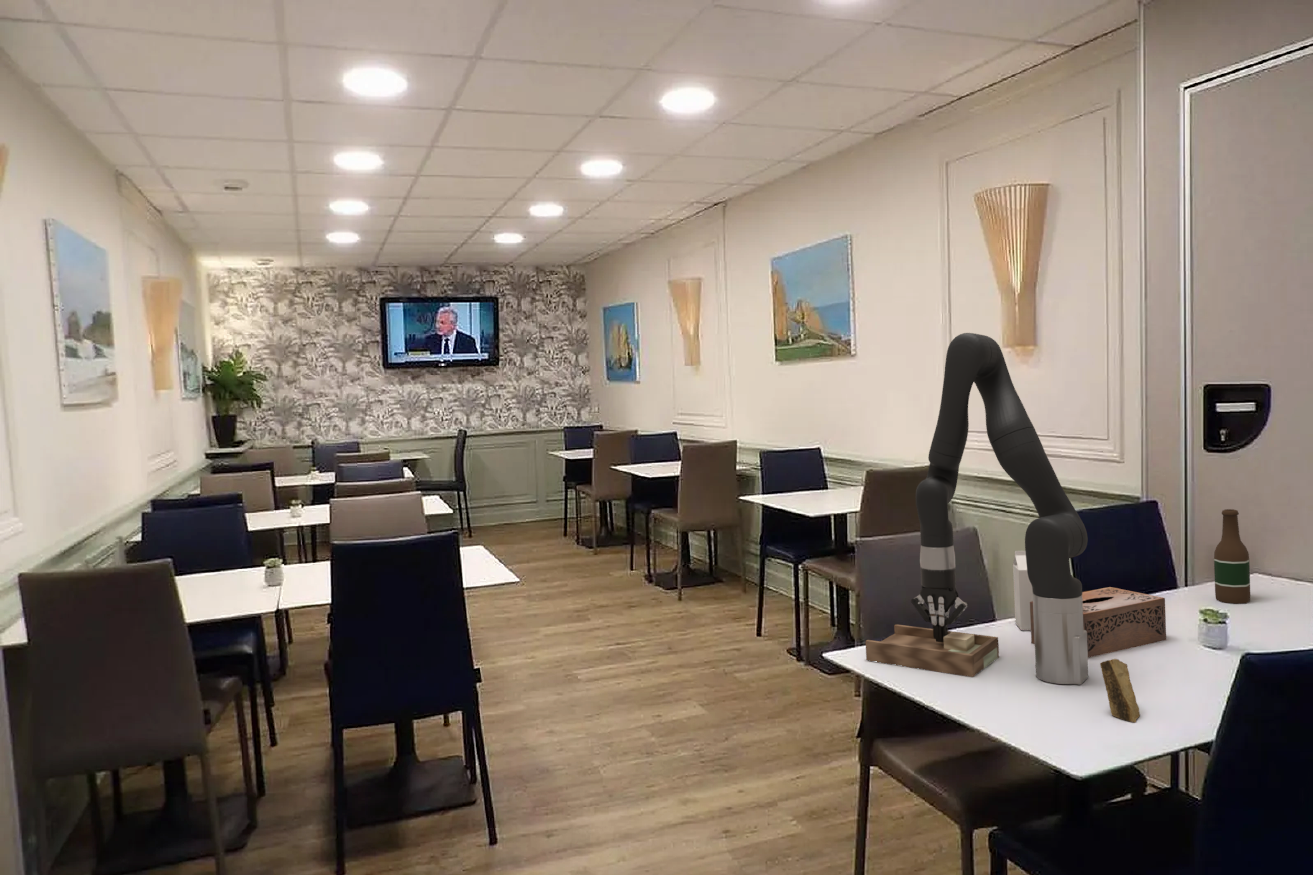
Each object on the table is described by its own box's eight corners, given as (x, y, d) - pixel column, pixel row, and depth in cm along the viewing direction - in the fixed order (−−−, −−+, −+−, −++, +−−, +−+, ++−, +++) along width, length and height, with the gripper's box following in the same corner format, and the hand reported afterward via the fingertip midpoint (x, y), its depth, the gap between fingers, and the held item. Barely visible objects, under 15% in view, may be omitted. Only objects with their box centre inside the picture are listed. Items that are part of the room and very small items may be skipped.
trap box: (998, 657, 196) (998, 637, 196) (972, 677, 184) (971, 655, 183) (896, 643, 211) (896, 624, 211) (866, 660, 199) (865, 640, 199)
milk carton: (1052, 631, 214) (1049, 553, 213) (1020, 631, 215) (1017, 553, 214) (1045, 623, 221) (1042, 547, 220) (1015, 623, 222) (1012, 548, 221)
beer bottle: (1208, 599, 234) (1205, 509, 233) (1230, 596, 237) (1227, 507, 236) (1235, 605, 227) (1232, 512, 226) (1258, 602, 229) (1255, 510, 228)
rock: (1111, 683, 169) (1077, 686, 164) (1139, 653, 164) (1104, 655, 160) (1153, 731, 161) (1118, 736, 156) (1183, 701, 157) (1148, 705, 152)
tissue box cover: (1083, 660, 191) (1081, 614, 191) (1031, 644, 205) (1029, 602, 204) (1166, 641, 201) (1164, 597, 201) (1111, 627, 215) (1110, 586, 214)
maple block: (974, 645, 197) (974, 634, 197) (966, 651, 193) (965, 640, 193) (952, 642, 200) (952, 631, 200) (943, 648, 196) (943, 637, 196)
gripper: (973, 564, 197) (976, 641, 198) (916, 560, 206) (919, 633, 207) (960, 570, 192) (963, 649, 192) (902, 565, 200) (905, 641, 201)
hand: (940, 641), depth 199 cm, fingers closed
